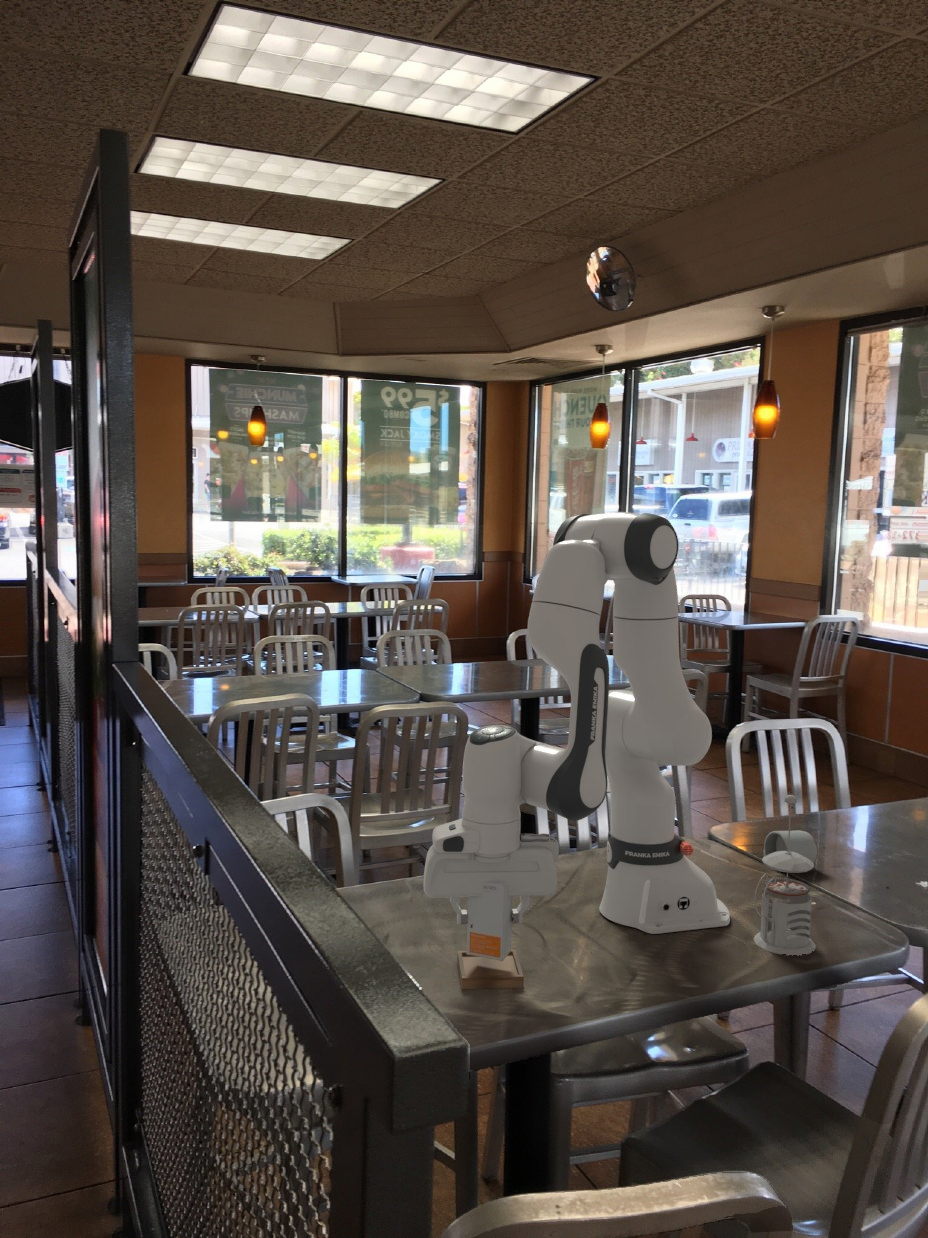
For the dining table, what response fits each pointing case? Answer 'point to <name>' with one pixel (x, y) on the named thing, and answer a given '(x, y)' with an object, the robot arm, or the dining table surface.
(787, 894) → the french press
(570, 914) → the dining table surface
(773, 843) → the ceramic mug
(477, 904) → the skincare box
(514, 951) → the walnut tray
